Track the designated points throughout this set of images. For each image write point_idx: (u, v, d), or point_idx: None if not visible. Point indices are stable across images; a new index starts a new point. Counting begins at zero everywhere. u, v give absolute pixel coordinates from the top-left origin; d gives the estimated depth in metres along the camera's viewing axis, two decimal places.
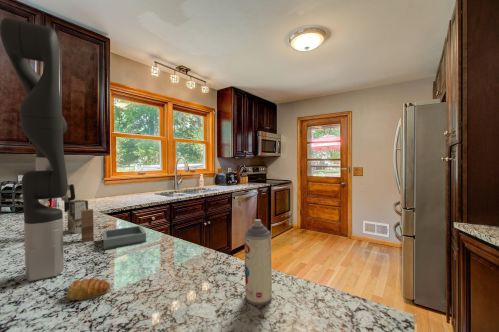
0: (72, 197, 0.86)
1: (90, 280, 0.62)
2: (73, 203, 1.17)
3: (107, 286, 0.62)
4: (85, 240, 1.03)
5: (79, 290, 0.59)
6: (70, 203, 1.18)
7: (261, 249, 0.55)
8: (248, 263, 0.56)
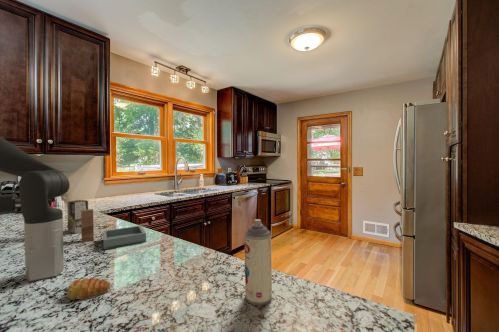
0: None
1: (90, 279, 0.62)
2: (73, 203, 1.17)
3: (107, 285, 0.62)
4: (85, 240, 1.03)
5: (79, 290, 0.59)
6: (70, 203, 1.18)
7: (261, 249, 0.55)
8: (248, 263, 0.56)
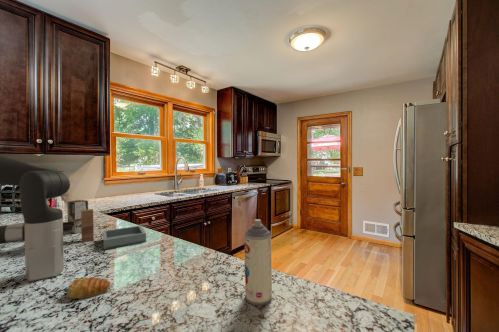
0: None
1: (90, 279, 0.63)
2: (73, 203, 1.17)
3: (107, 284, 0.63)
4: (85, 240, 1.03)
5: (80, 289, 0.59)
6: (70, 203, 1.18)
7: (261, 249, 0.55)
8: (248, 263, 0.56)
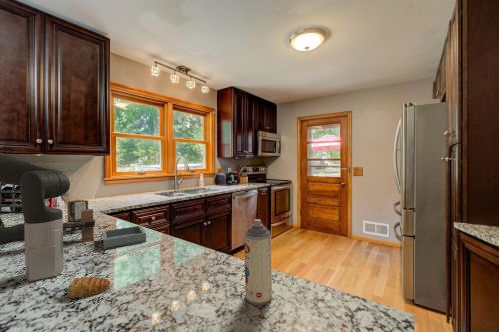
0: None
1: (90, 278, 0.63)
2: (73, 203, 1.17)
3: (108, 283, 0.63)
4: (85, 240, 1.03)
5: (80, 288, 0.60)
6: (70, 203, 1.18)
7: (261, 249, 0.55)
8: (248, 263, 0.56)
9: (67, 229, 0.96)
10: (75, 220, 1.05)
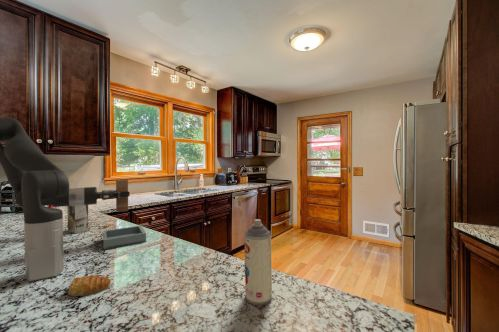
0: (114, 190, 1.07)
1: (91, 277, 0.64)
2: None
3: (108, 282, 0.64)
4: (120, 210, 1.02)
5: (81, 286, 0.61)
6: None
7: (261, 249, 0.55)
8: (248, 263, 0.56)
9: (105, 196, 0.95)
10: (109, 190, 1.04)
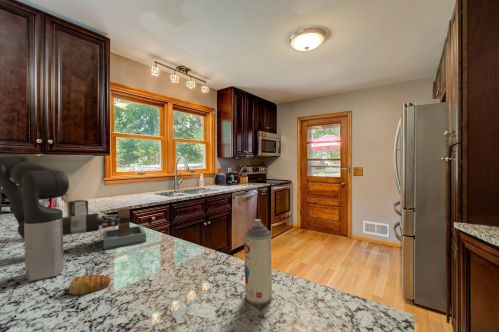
0: (114, 214, 1.07)
1: (91, 275, 0.65)
2: (73, 203, 1.17)
3: (108, 280, 0.65)
4: None
5: (82, 285, 0.61)
6: (70, 203, 1.18)
7: (261, 249, 0.55)
8: (248, 263, 0.56)
9: (103, 224, 0.94)
10: (110, 215, 1.04)
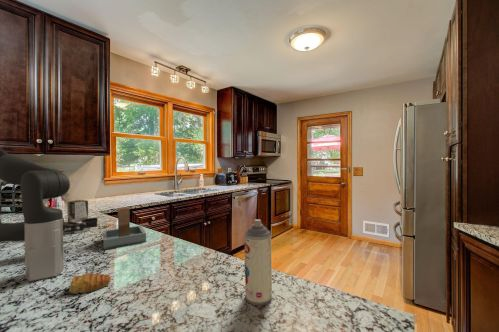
0: None
1: (91, 274, 0.65)
2: (73, 203, 1.17)
3: (108, 279, 0.66)
4: None
5: (82, 284, 0.62)
6: (70, 203, 1.18)
7: (261, 249, 0.55)
8: (248, 263, 0.56)
9: (66, 229, 0.87)
10: (77, 218, 0.97)
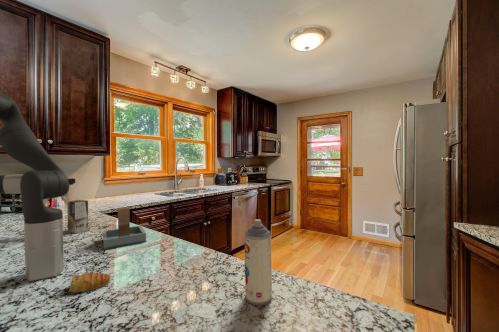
0: None
1: (91, 274, 0.66)
2: (73, 203, 1.17)
3: (108, 277, 0.67)
4: None
5: (83, 283, 0.62)
6: (70, 203, 1.18)
7: (261, 249, 0.55)
8: (248, 263, 0.56)
9: None
10: None
